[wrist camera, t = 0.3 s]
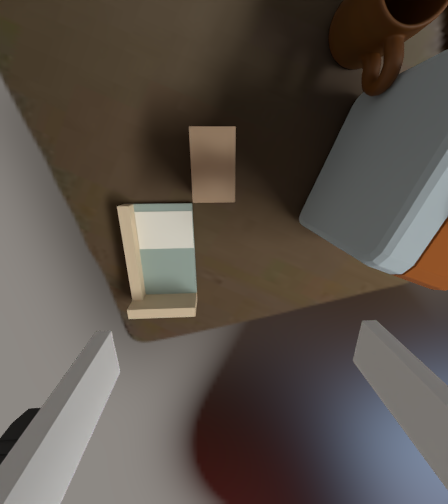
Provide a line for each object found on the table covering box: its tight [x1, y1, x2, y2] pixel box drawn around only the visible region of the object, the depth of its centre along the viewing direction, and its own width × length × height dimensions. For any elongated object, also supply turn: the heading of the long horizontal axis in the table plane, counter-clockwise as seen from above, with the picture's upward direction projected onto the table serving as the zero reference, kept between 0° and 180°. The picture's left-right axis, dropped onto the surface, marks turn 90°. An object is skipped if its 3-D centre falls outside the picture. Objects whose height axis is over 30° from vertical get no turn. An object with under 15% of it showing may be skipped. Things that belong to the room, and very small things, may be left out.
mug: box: [329, 0, 448, 96], centre depth 25 cm, size 12×8×9 cm, turn 178°
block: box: [189, 126, 236, 203], centre depth 29 cm, size 8×5×8 cm, turn 0°
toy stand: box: [117, 203, 197, 319], centre depth 34 cm, size 17×10×5 cm, turn 0°
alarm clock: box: [299, 49, 448, 290], centre depth 24 cm, size 18×9×21 cm, turn 159°
